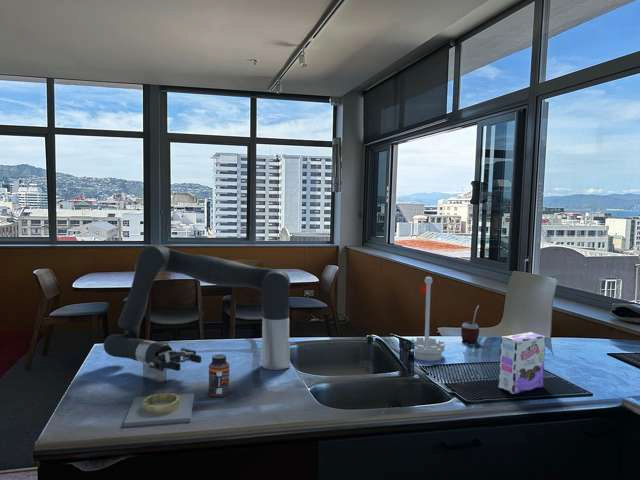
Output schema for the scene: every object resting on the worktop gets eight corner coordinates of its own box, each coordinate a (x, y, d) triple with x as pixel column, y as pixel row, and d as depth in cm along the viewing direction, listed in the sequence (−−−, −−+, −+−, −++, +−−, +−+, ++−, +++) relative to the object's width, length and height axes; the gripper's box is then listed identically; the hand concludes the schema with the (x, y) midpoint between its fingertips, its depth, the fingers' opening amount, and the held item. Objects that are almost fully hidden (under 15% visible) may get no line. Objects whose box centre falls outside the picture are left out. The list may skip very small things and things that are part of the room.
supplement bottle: (224, 398, 133) (224, 360, 133) (205, 396, 134) (204, 358, 134) (232, 390, 139) (232, 353, 138) (213, 388, 140) (213, 352, 140)
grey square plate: (194, 396, 134) (194, 393, 134) (190, 421, 119) (190, 417, 119) (135, 400, 131) (135, 397, 131) (123, 426, 115) (123, 422, 115)
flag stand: (451, 357, 173) (454, 277, 171) (427, 363, 166) (429, 280, 164) (425, 348, 184) (427, 273, 182) (401, 354, 177) (403, 275, 175)
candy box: (513, 394, 139) (515, 340, 138) (497, 388, 144) (499, 335, 143) (544, 387, 146) (546, 335, 144) (527, 380, 151) (530, 331, 150)
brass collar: (180, 398, 130) (180, 391, 130) (177, 413, 121) (177, 405, 121) (146, 401, 128) (146, 394, 128) (140, 415, 119) (140, 408, 119)
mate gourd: (462, 344, 191) (463, 308, 190) (459, 338, 198) (460, 304, 197) (481, 345, 189) (482, 309, 188) (477, 340, 197) (479, 305, 196)
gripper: (135, 347, 144) (172, 357, 135) (171, 337, 156) (207, 345, 148) (135, 371, 144) (172, 382, 136) (171, 359, 156) (206, 368, 148)
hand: (190, 363), depth 142 cm, fingers open, 8 cm apart
